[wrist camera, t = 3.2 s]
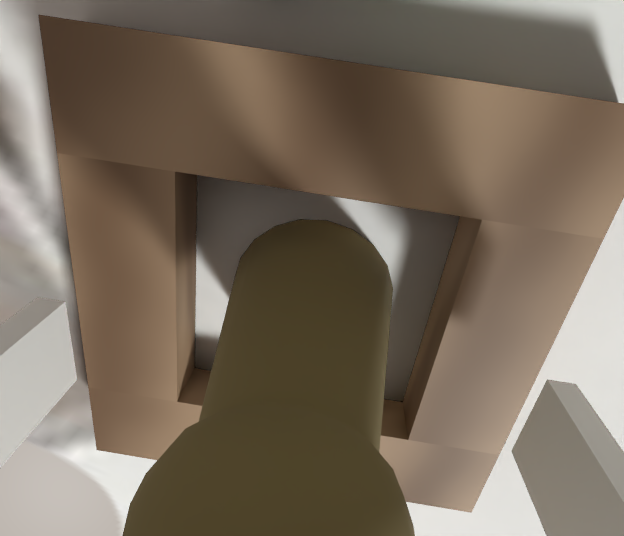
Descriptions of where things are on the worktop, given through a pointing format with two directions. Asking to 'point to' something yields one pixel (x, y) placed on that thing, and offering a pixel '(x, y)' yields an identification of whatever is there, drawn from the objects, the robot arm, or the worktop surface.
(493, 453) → the collar board
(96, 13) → the worktop surface
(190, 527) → the cork
